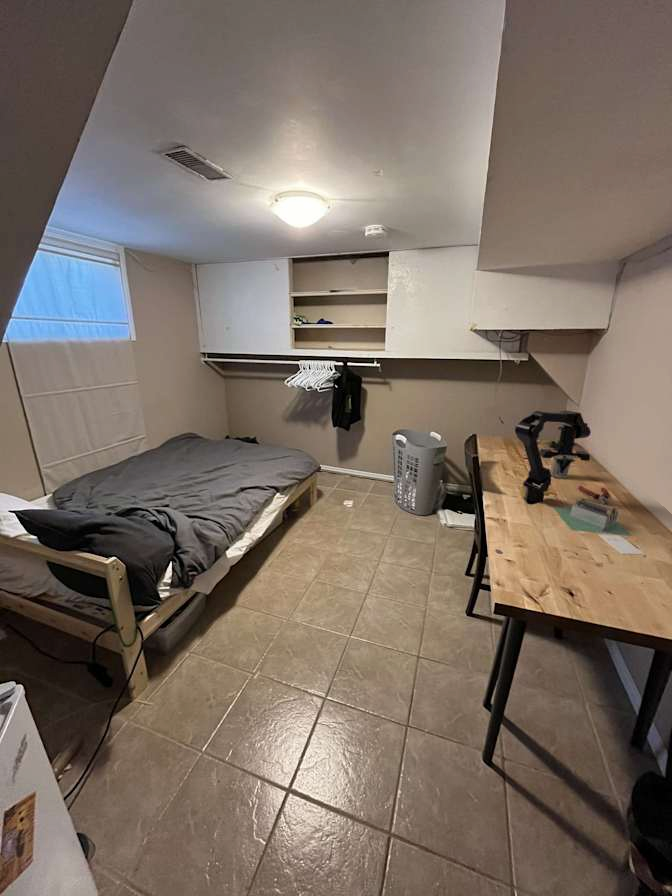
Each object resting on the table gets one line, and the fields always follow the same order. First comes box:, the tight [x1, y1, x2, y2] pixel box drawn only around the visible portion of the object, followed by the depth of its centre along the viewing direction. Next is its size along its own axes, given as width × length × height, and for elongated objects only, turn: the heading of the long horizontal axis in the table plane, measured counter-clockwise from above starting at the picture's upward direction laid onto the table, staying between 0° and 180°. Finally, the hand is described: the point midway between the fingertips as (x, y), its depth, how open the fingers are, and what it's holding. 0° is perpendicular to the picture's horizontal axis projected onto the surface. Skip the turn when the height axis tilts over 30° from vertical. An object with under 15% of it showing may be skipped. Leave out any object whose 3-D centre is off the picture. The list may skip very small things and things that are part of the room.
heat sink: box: [569, 497, 620, 531], centre depth 143 cm, size 12×12×8 cm
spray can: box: [550, 446, 575, 480], centre depth 193 cm, size 8×8×20 cm
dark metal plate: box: [579, 499, 614, 513], centre depth 142 cm, size 11×3×1 cm, turn 32°
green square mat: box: [552, 507, 633, 537], centre depth 144 cm, size 20×20×1 cm
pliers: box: [577, 485, 612, 506], centre depth 168 cm, size 12×20×3 cm, turn 164°
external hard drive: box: [598, 534, 647, 558], centre depth 127 cm, size 2×8×12 cm
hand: (560, 472), depth 165 cm, fingers closed
